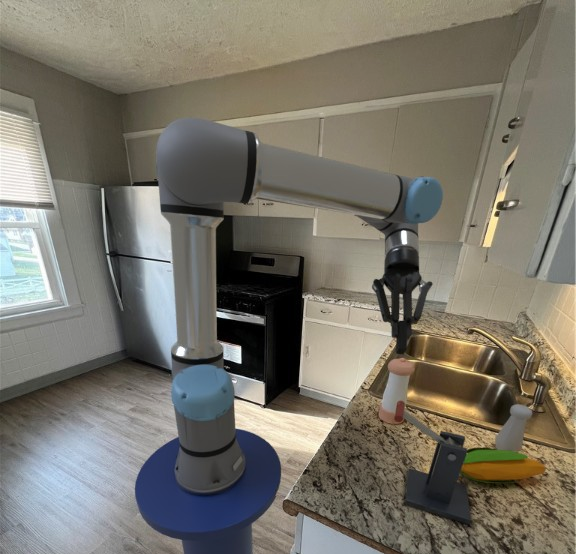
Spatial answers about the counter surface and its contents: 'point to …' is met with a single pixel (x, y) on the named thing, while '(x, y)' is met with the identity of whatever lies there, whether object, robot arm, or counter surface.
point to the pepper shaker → (395, 388)
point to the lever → (420, 425)
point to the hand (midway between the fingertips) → (401, 351)
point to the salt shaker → (513, 429)
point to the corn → (499, 465)
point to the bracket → (441, 483)
